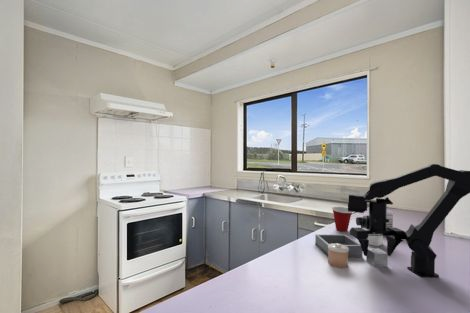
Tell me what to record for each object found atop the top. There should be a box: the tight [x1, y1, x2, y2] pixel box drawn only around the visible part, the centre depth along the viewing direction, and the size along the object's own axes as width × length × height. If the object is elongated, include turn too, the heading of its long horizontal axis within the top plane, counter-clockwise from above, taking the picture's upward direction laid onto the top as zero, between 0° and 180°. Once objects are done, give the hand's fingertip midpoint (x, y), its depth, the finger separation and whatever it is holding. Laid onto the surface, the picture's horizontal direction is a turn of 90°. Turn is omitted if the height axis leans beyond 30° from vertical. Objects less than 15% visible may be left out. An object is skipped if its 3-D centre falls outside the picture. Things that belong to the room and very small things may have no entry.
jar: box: [362, 215, 384, 247], centre depth 112 cm, size 9×8×12 cm
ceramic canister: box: [327, 243, 349, 269], centre depth 89 cm, size 7×7×7 cm
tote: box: [314, 233, 363, 258], centre depth 103 cm, size 14×14×4 cm
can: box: [386, 209, 395, 229], centre depth 129 cm, size 11×11×12 cm
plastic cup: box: [331, 206, 353, 233], centre depth 131 cm, size 11×11×12 cm
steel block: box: [365, 247, 389, 268], centre depth 90 cm, size 5×5×5 cm
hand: (377, 255), depth 90 cm, fingers open, 9 cm apart
